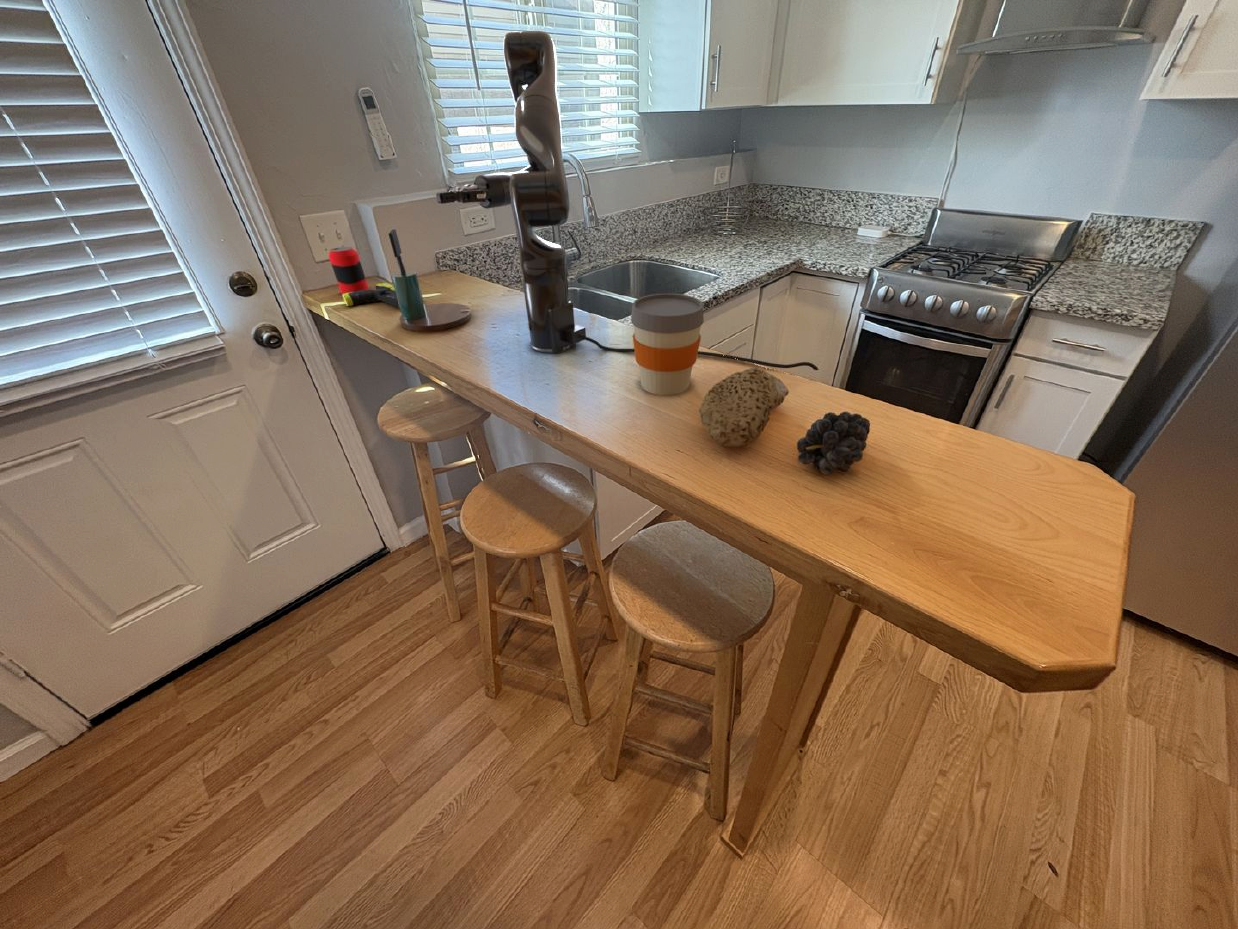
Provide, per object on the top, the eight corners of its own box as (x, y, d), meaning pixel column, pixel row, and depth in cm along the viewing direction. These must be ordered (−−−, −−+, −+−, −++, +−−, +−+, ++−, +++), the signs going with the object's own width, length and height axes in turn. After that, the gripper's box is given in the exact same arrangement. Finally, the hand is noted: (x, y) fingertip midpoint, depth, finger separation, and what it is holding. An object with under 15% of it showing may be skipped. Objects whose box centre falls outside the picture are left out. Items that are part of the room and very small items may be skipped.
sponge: (733, 396, 90) (665, 416, 76) (750, 357, 85) (682, 371, 72) (794, 434, 83) (732, 463, 70) (816, 394, 79) (754, 417, 66)
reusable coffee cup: (675, 406, 85) (679, 321, 76) (618, 387, 91) (616, 307, 82) (710, 380, 93) (718, 300, 84) (655, 364, 99) (657, 289, 90)
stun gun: (370, 306, 124) (422, 292, 134) (335, 293, 134) (386, 280, 144) (374, 318, 126) (425, 303, 135) (339, 303, 136) (389, 290, 145)
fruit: (859, 379, 71) (808, 414, 63) (909, 413, 68) (862, 455, 60) (828, 421, 78) (777, 458, 69) (872, 454, 75) (825, 497, 66)
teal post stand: (472, 305, 131) (456, 221, 119) (469, 327, 117) (450, 234, 105) (406, 310, 128) (383, 225, 116) (395, 333, 115) (367, 240, 103)
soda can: (352, 288, 149) (338, 245, 142) (374, 288, 147) (361, 246, 140) (336, 295, 143) (320, 251, 136) (359, 296, 141) (344, 252, 134)
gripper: (478, 172, 128) (419, 178, 117) (510, 174, 121) (450, 181, 110) (484, 204, 132) (427, 213, 122) (515, 208, 125) (457, 218, 115)
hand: (438, 198), depth 116 cm, fingers closed
